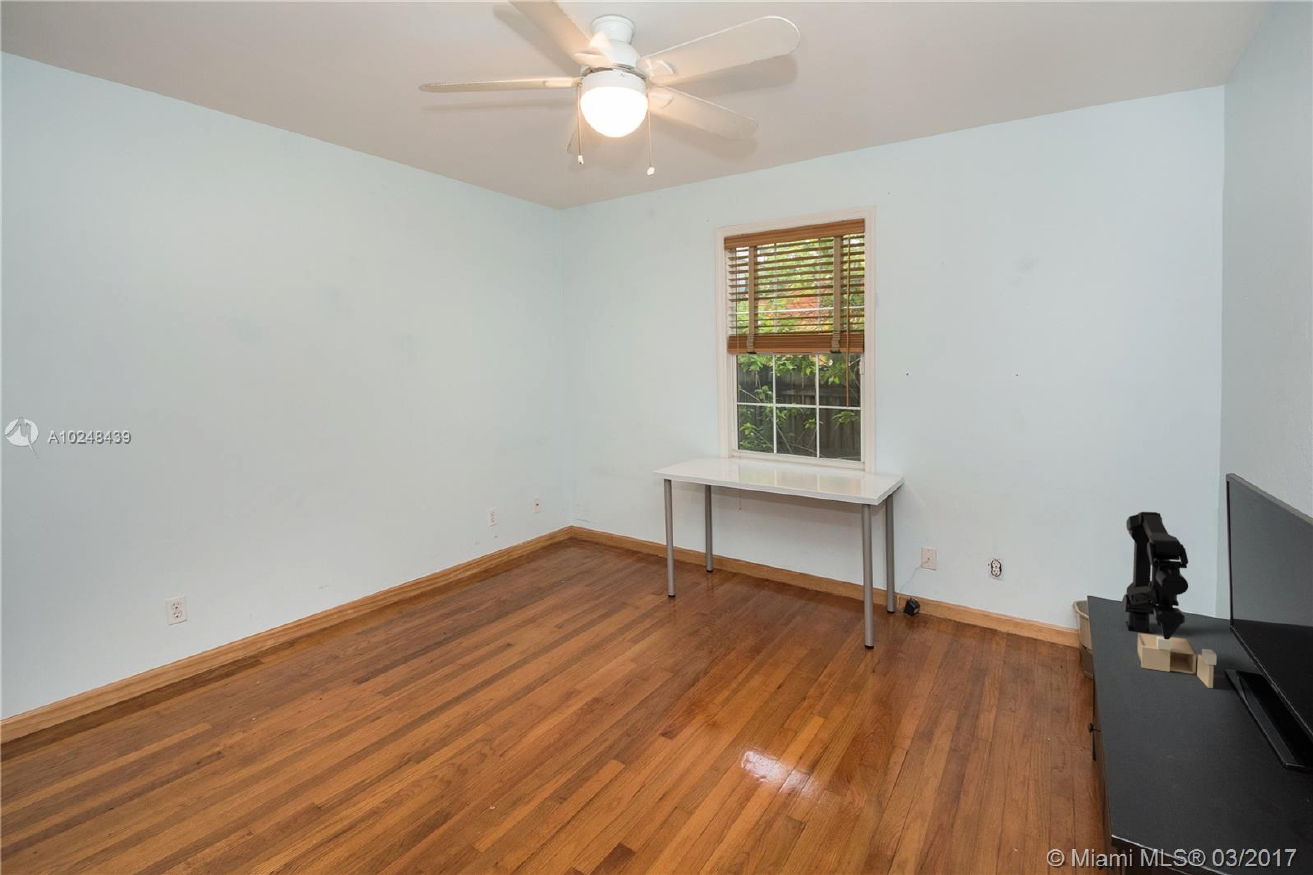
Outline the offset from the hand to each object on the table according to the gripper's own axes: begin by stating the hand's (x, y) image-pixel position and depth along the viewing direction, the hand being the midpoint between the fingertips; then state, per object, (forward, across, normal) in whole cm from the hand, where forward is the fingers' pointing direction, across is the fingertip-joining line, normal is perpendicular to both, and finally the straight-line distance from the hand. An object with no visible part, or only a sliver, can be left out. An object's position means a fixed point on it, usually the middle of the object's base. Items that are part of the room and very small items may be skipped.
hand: (1163, 632), depth 175 cm
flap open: (+12, +3, +9) cm, 15 cm away
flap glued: (+12, 0, -2) cm, 12 cm away
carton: (+12, -5, +2) cm, 13 cm away
